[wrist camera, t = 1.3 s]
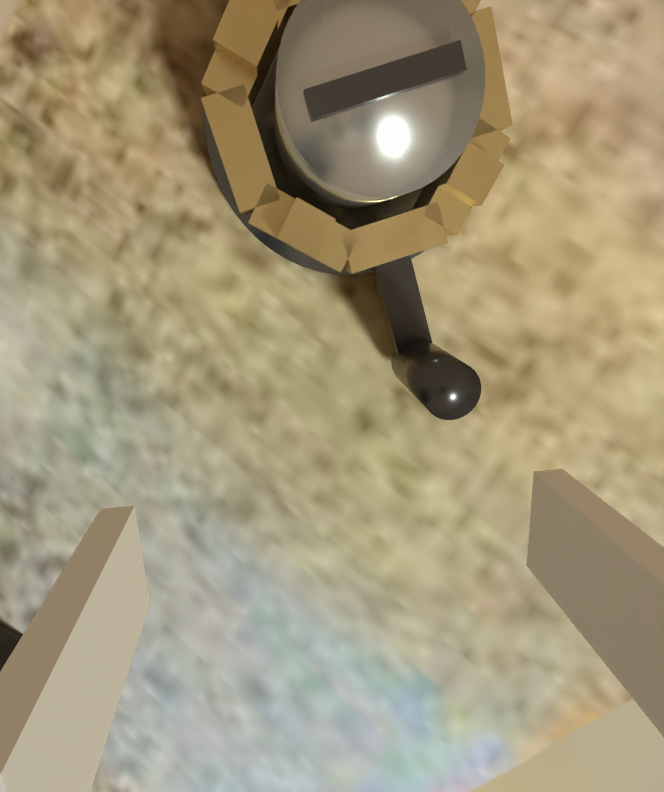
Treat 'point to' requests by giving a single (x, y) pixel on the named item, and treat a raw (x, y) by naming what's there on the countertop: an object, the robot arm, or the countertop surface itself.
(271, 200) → the tan handled ring
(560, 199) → the countertop surface
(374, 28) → the housing
